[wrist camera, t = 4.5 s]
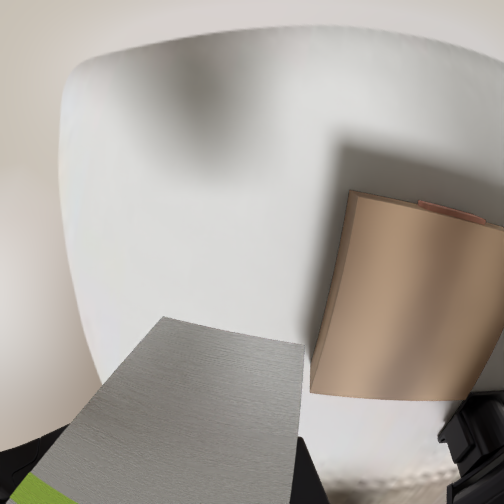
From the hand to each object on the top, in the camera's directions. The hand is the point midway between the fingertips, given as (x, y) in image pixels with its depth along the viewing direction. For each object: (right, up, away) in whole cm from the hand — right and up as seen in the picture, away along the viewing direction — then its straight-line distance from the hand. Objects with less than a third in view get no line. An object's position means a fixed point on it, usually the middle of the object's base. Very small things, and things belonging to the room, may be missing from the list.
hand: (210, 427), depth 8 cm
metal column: (0, +1, +2) cm, 2 cm away
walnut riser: (+12, +2, +10) cm, 15 cm away
